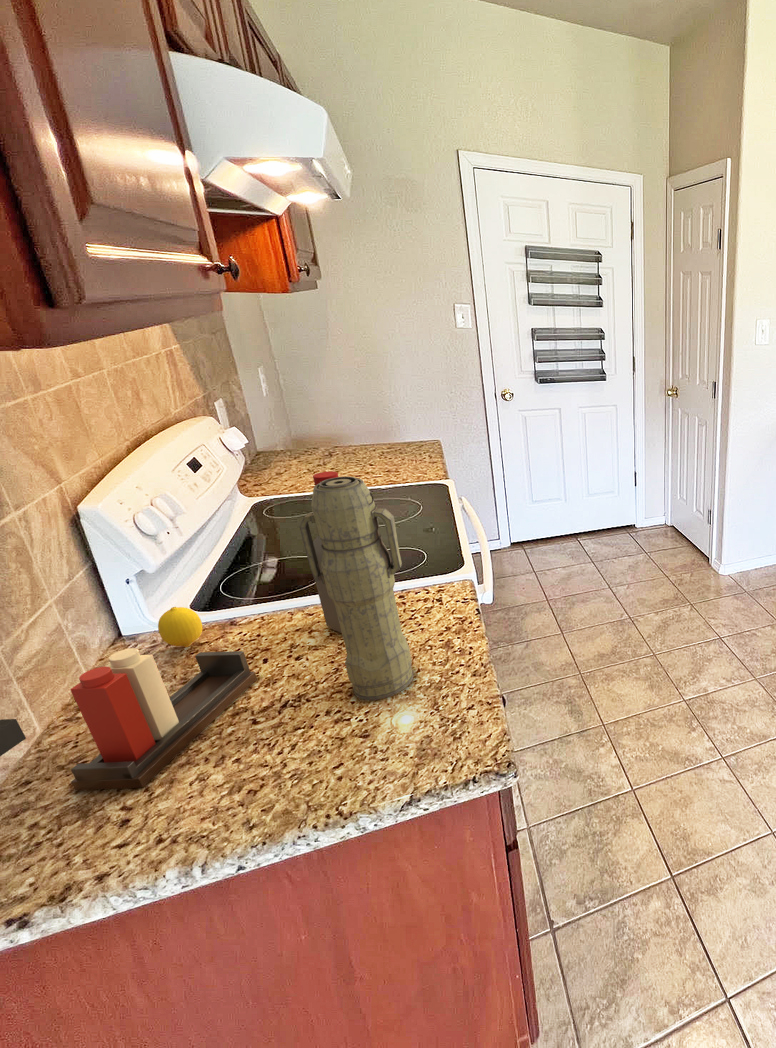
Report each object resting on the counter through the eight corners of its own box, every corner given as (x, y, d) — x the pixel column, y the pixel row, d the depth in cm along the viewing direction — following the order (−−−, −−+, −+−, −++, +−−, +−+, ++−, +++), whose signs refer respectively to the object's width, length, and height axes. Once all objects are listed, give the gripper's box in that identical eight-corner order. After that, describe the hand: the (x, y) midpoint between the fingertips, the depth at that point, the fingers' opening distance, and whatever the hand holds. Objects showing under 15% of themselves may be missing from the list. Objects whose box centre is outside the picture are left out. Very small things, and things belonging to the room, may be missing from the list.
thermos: (423, 689, 92) (383, 486, 80) (338, 708, 88) (281, 496, 75) (425, 659, 100) (388, 468, 87) (346, 675, 95) (296, 476, 83)
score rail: (74, 790, 73) (58, 757, 71) (205, 680, 93) (195, 652, 91) (142, 787, 73) (127, 754, 71) (257, 678, 94) (248, 650, 92)
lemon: (167, 644, 102) (152, 605, 99) (208, 634, 105) (194, 596, 102) (165, 659, 98) (150, 619, 95) (208, 648, 101) (194, 609, 98)
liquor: (397, 616, 112) (367, 471, 102) (351, 639, 105) (314, 486, 94) (367, 605, 116) (335, 464, 105) (321, 626, 108) (281, 477, 98)
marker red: (104, 764, 75) (65, 681, 70) (125, 746, 77) (88, 666, 73) (137, 762, 75) (101, 680, 70) (156, 745, 78) (123, 665, 73)
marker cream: (131, 741, 78) (96, 661, 74) (150, 725, 81) (117, 647, 76) (163, 740, 79) (129, 660, 74) (180, 724, 81) (149, 647, 77)
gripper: (-412, 1006, 41) (-37, 758, 63) (-209, 992, 42) (91, 752, 64) (-488, 938, 39) (-69, 703, 61) (-269, 924, 40) (65, 698, 62)
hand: (13, 729), depth 62 cm, fingers closed
